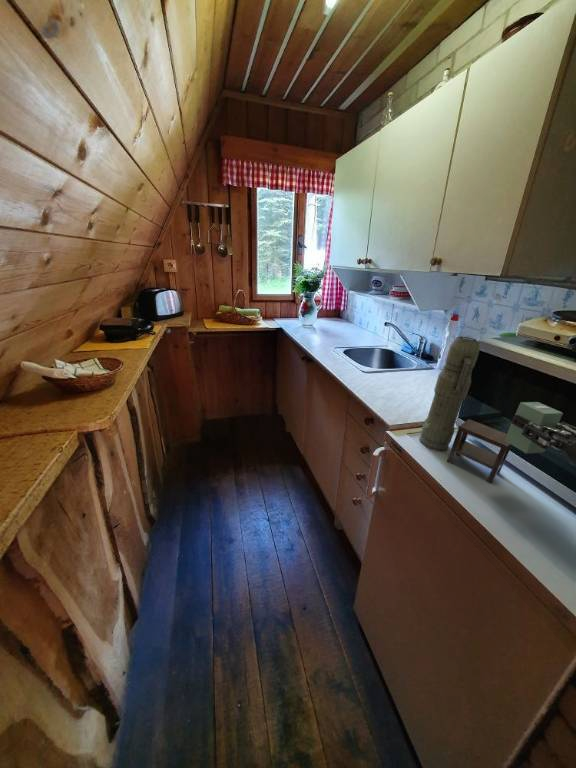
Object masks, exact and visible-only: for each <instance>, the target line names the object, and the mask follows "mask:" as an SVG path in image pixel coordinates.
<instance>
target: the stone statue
mask: <svg viewBox="0 0 576 768" xmlns="http://www.w3.org/2000/svg"><path fill="white" fill-rule="evenodd" d="M479 354H480V341H478V340H477V339H476V338H473V337H468V336H458V337H455V338H454V340H453V341H452V342H451V344H450V345H449V348H448V351H447V355H446V358H445V363H444V365H443V367H442V370H441V371H440V373H439V374H438V376H437V379H436V382H435V386H434V395H433V398H432V402H431V404H430V408H429V411H428V414H427V417H426V419H425V420H424V421H423V425H422V428H421V431H420V437H419V443H421V445H422V446H424V447H426V448H428V449H430V450H433V451H438V452H444V451H445V452H446V451H447V450H448V449H449V445H450V444H451V442H452V439H453V436H454V434H455V425H456V422H457V419H458V416H459V413H460V410H461V407H462V405H463V401H465V400H466V398H467V395H468V393H469V391H470V387H471V385H472V374H473V369H474V368H475V365H476V363H477V360H478V357H479Z"/></svg>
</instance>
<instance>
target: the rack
mask: <svg viewBox="0 0 576 768" xmlns="http://www.w3.org/2000/svg"><path fill="white" fill-rule="evenodd" d="M468 435H469V436H471V437H474V438H476V439H479V440H481V441H482V442H483V441H484V442H486V443H488V444H491V445H494V446H496V447H498V448H500V449H499V451H498V453H497V454H496V453H494V452H493V451H490V450H487V449H485V448H483V447H480V446H478V445H476V444H474V443H472V442H470V441H467V439H468ZM506 435H507V433H505V432H503V431H500V430H499V429H496V428H493V427H491V426H487V425H485V424H483V423H480V422H477V421H475V420H473V419H470V418H468V419H467V420H466V421H464V422H463V423H461V424H460V425H459V426H458V429H457V431H456V434H455V437H454V440H453V442H452V445H451V447H450V451H449V454H448V456H447V459H446V462H447V463H449V464H452V463H453V461H454V459H455V456H462V457H465V458H467V459H469V460H471V461H473V462H476V463H478V464H480V465H482V466H484V467H486V468H488V469H490V473H489V475H488V477H487V480H486V482H487V483H489V484H493V483H494V481H495V478H496V476H497V475H499V474H500V473H501V471H502V468H503V466H504V465H505V462H506V460H507V457H508V455H509V453H510V451H511V448H512V447H513V445H511V444H510V443H508V442H506V441H505V438H506Z"/></svg>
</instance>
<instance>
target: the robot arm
mask: <svg viewBox="0 0 576 768" xmlns="http://www.w3.org/2000/svg"><path fill="white" fill-rule="evenodd" d="M510 423H512V424H514V425H516V426H518V427H519V428H521V429H523V432H522V433H521V434H522V435H523V436H525V437H526V438H528V439H529V440H531V441H532V442H534V443H535V444H537V445H538V446H540V447H541V448H543V449H545V450H548V448H549V447H552V448H553V449H555V450H558V451H561V452H564V453H565V454H566V458H567V462H568V463H569V464H570V465H571V466H574V467H575V468H576V426H574V425H572V424H569V423H567V422H565V421H561V422H559V423H558V424H557V425H556V429H555V428H553V427H550V426H547V425H544V426H541V425H538V424H535V423H533V422H531V421H529V420H527V419H525V418H523V417H521V416H519V415H515V414H513V416H512V417H511V420H510ZM537 428H538V429H537ZM539 429H540V430H539ZM546 430H549V432H548V434H545V432H546Z"/></svg>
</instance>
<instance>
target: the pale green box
mask: <svg viewBox="0 0 576 768" xmlns="http://www.w3.org/2000/svg"><path fill="white" fill-rule="evenodd" d="M516 409H517V410H516V412H515V414H514V415H519V416H521V417H523V418H525V419H527V420H529V421H531V422H533V423H535V424H538V425H541V426H544V425H547V426H550V427H553V428H555V429H556V425H557V424H558V423H560V421H561V419H562V416H563V415H564V413H563V412H562V411H560V410H557V409H555V408H552V407H551V406H548V405H546V404H543V403H541V402H539V401H525V402H524V401H521V402H520V403H519V405H518V408H516ZM510 423H511V422H510ZM537 429H538V428H537ZM539 430H540V429H539ZM522 432H523V429H521V428H519V427H518V426H516V425H514V424H512V423H511V424H510V425H509V428H508V431H507V433H506V434H507V435H506V438H505V441H506V442H508V443H510V444H511V445H512V447H515V448H517V449H518V450H520V452H523V453H524V454H526V455H527V454H528V455H529V454H538V453H545V451H546V449H543V448H541V447H540V446H538V445H537V444H535V443H534V442H532V441H531V440H529V439H528V438H526V437H525V436H523V435H522V434H521V433H522ZM548 432H549V430H546V432H545V434H548Z"/></svg>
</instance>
